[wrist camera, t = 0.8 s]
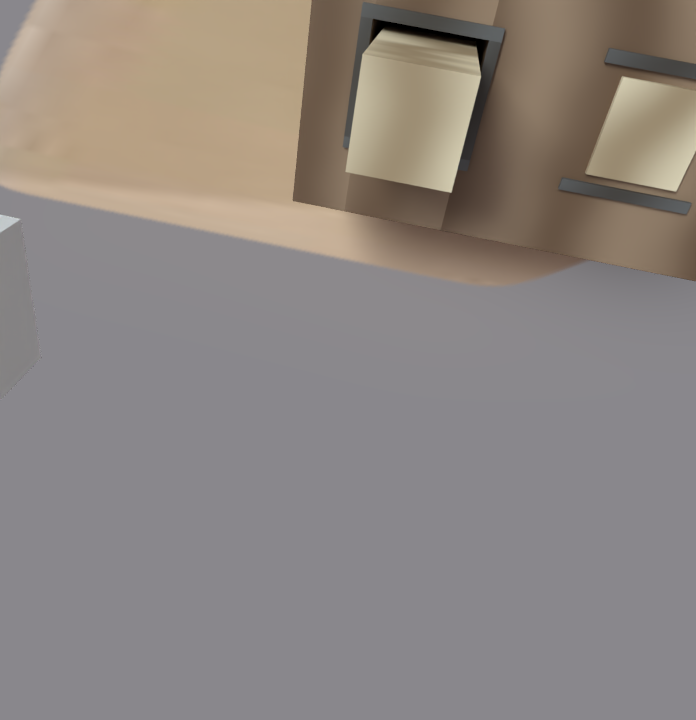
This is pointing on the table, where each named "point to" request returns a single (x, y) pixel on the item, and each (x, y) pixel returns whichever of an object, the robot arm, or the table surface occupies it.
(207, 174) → the table surface
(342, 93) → the wooden box
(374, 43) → the peg
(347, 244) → the table surface
